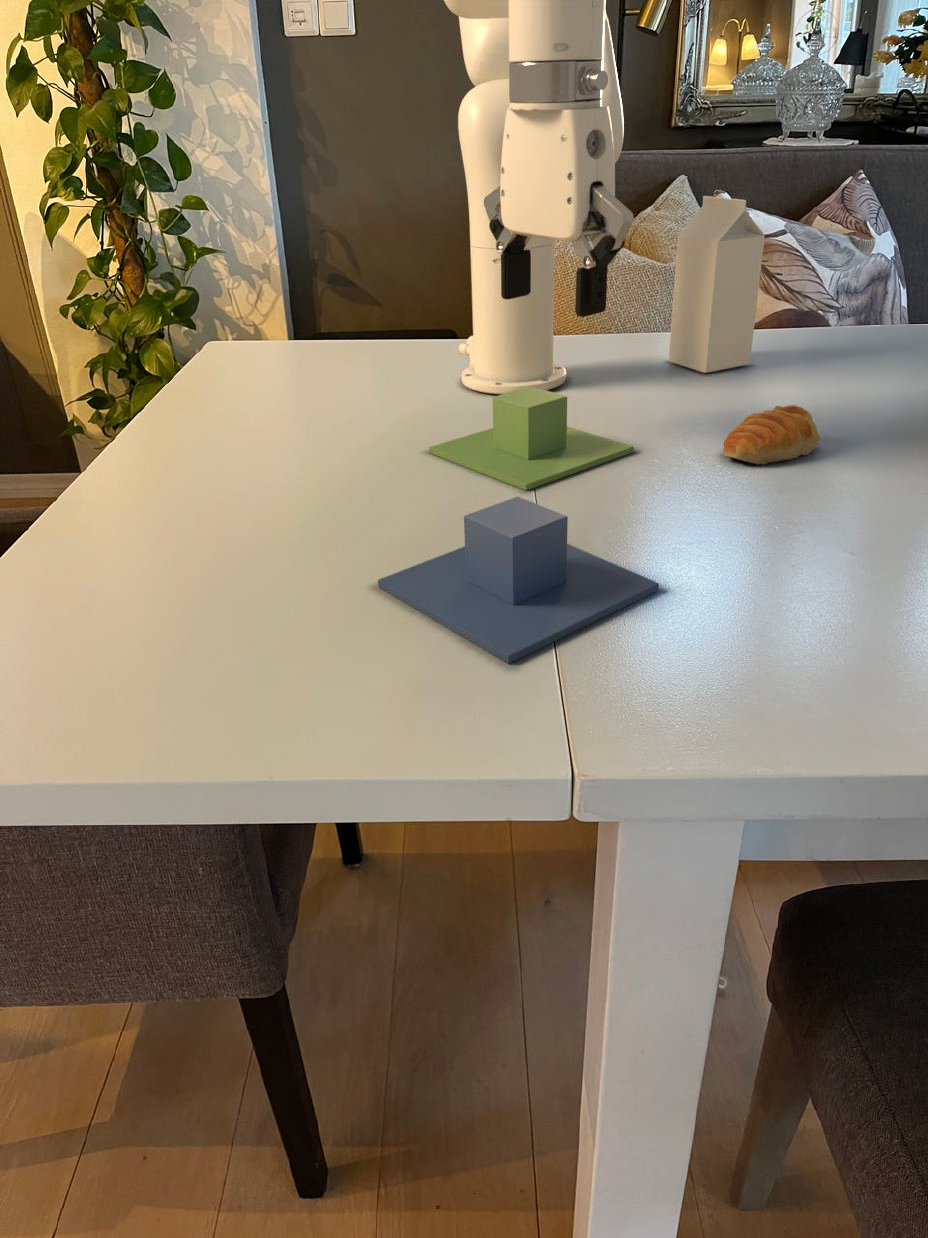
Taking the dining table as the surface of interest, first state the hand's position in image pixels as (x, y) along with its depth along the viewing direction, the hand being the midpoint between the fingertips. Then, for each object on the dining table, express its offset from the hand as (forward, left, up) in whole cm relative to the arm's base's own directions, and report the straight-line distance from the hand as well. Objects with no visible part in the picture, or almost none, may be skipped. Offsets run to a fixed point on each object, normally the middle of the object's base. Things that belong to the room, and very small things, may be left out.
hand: (551, 304), depth 84 cm
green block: (0, -3, -13) cm, 13 cm away
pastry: (+16, +14, -14) cm, 25 cm away
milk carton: (-8, +36, -14) cm, 39 cm away
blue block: (+20, -22, -13) cm, 32 cm away
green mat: (0, -2, -14) cm, 14 cm away
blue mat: (+20, -22, -14) cm, 33 cm away
